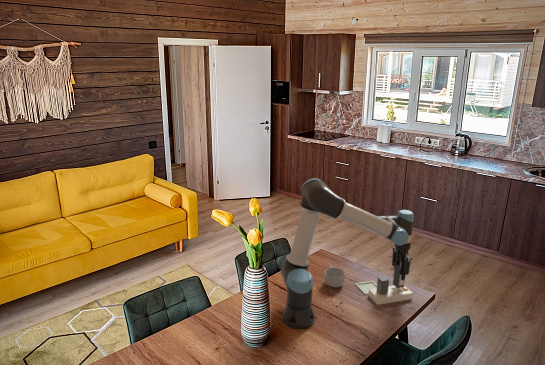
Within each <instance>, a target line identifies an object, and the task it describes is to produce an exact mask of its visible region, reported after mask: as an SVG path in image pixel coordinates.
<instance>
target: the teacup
mask: <svg viewBox="0 0 545 365" xmlns="http://www.w3.org/2000/svg"><path fill="white" fill-rule="evenodd" d="M345 278H346V272H345V270H344V269H343V268H340V267H333V265H329V267H328V268H326V269H325V270H324V281H325V283H326V285H328V287H331V288H333V289H334V288H336V289H337V288H340V287H342V286H343V285H344V284H345Z"/></svg>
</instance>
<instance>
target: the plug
mask: <svg viewBox="0 0 545 365" xmlns="http://www.w3.org/2000/svg"><path fill="white" fill-rule="evenodd" d="M393 269H394V270H393V277H392V278H393V280H392V286H393V285H394V286H395V287H396V288H401V287H404V286H405V284H404V285H401V286H399V276H400V273H401V263H400V264H398V265H395V268H394V267H393ZM405 281H406V280H405ZM405 281H404V283H405Z"/></svg>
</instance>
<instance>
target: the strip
mask: <svg viewBox="0 0 545 365" xmlns="http://www.w3.org/2000/svg"><path fill="white" fill-rule="evenodd" d="M376 284H377V288H374V289H369V294H367V295H368V297H369V298H370V299H371V300H372V301H373V302H374V303H375V304H376V305H378V306H379V305H384V304H385V305H386V304H390V303H391V304H392V303H397V302H403V301H408V300H409V301H410V300H413V294H414V293H413V292H412V290H410V289H409V288H408V287H407V286H406V285H404V287H401V288H396V287H395V286H394V285H393V284H392V285H389V284H390V279H388V277H386V276H379V277H377V283H376Z"/></svg>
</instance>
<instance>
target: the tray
mask: <svg viewBox="0 0 545 365" xmlns="http://www.w3.org/2000/svg"><path fill="white" fill-rule="evenodd" d="M354 285H355V286H356V287H357V289H359V291H361V292H362V293H363V295H365V296H367V295H368V294H369V289H374V288H377V283H376V282H375V280H368V281H361V282H355V283H354Z"/></svg>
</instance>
